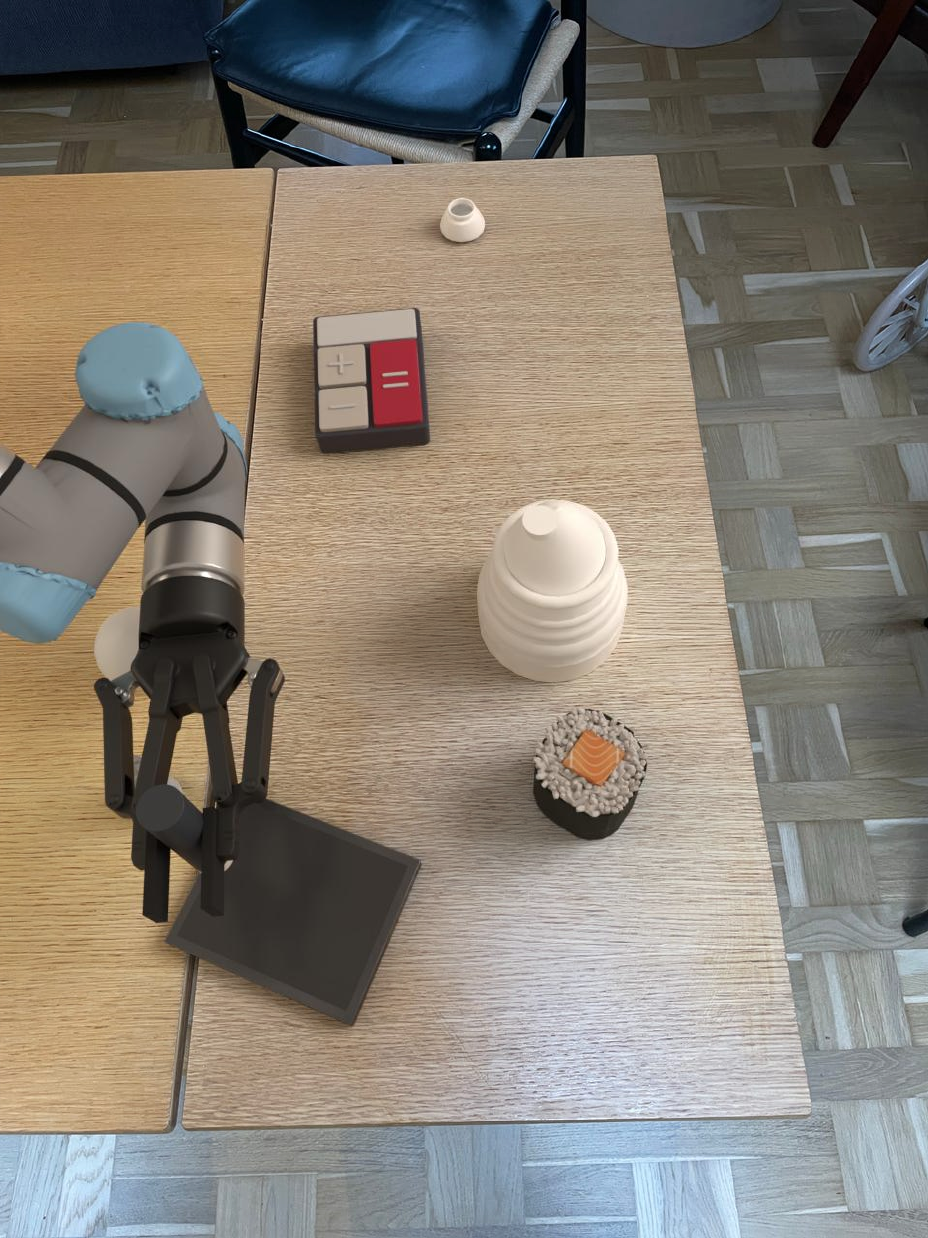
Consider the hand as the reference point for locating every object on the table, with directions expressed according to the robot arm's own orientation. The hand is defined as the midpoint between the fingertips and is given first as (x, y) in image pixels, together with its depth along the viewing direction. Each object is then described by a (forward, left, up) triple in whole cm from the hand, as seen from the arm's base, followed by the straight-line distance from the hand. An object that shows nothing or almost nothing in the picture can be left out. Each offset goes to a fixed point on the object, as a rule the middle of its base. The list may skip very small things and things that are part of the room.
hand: (184, 914), depth 63 cm
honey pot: (+12, +36, -15) cm, 41 cm away
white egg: (-20, +20, -15) cm, 32 cm away
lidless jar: (-14, +79, -15) cm, 81 cm away
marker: (-3, +5, -7) cm, 9 cm away
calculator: (-13, +54, -15) cm, 58 cm away
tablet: (+2, +5, -15) cm, 16 cm away
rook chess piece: (-12, +8, -15) cm, 21 cm away
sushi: (+20, +22, -15) cm, 33 cm away
